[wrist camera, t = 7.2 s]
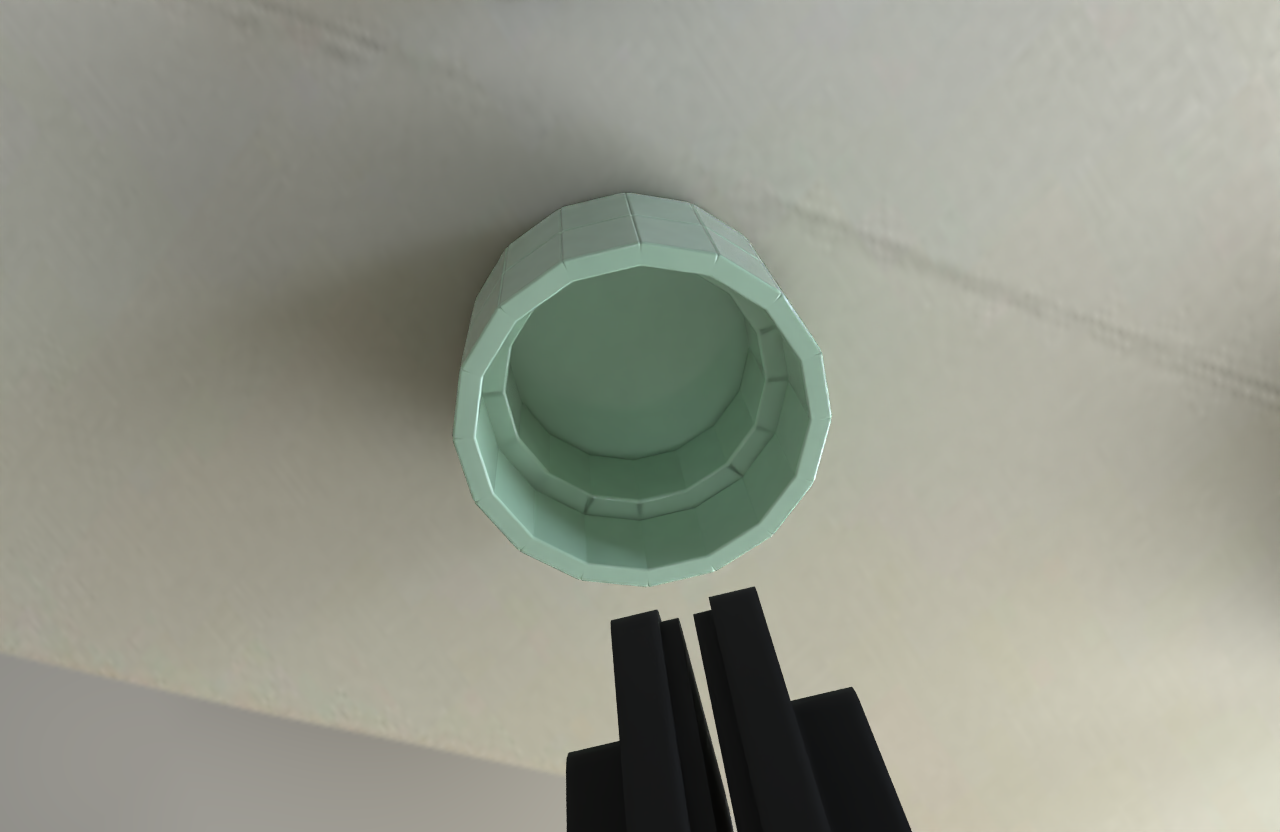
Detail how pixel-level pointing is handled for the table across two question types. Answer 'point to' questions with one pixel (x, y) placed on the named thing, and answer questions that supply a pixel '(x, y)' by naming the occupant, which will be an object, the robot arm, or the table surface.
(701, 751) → the robot arm
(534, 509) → the bowl
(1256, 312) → the table surface
